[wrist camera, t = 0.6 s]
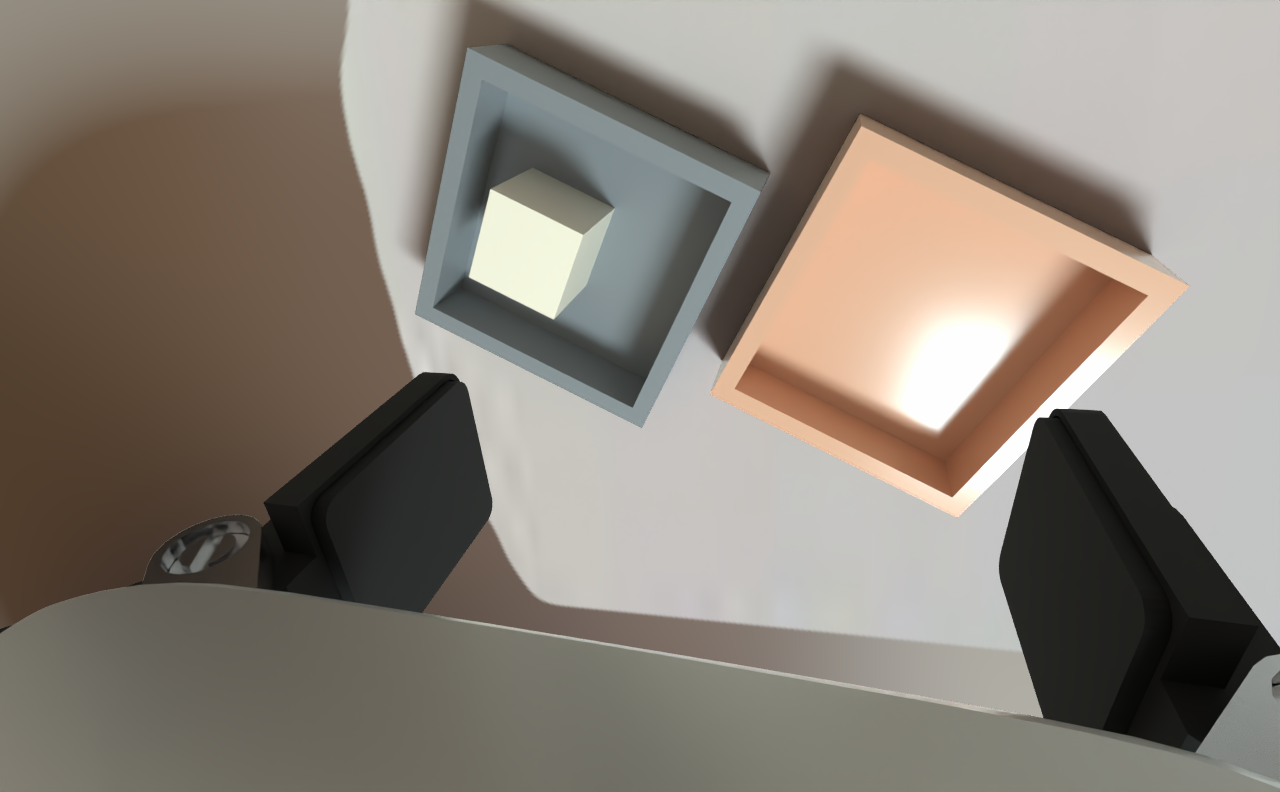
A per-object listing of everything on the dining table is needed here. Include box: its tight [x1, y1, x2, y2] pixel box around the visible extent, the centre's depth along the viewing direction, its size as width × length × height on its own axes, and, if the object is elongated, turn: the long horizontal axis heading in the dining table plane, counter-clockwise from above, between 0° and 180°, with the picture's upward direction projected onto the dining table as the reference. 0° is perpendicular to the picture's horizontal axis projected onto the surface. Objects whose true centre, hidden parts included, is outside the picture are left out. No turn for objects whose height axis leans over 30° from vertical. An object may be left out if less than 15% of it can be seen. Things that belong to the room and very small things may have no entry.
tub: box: [710, 113, 1190, 518], centre depth 39 cm, size 18×18×5 cm
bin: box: [415, 44, 770, 428], centre depth 42 cm, size 18×18×5 cm
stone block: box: [469, 168, 615, 320], centre depth 41 cm, size 6×6×6 cm
